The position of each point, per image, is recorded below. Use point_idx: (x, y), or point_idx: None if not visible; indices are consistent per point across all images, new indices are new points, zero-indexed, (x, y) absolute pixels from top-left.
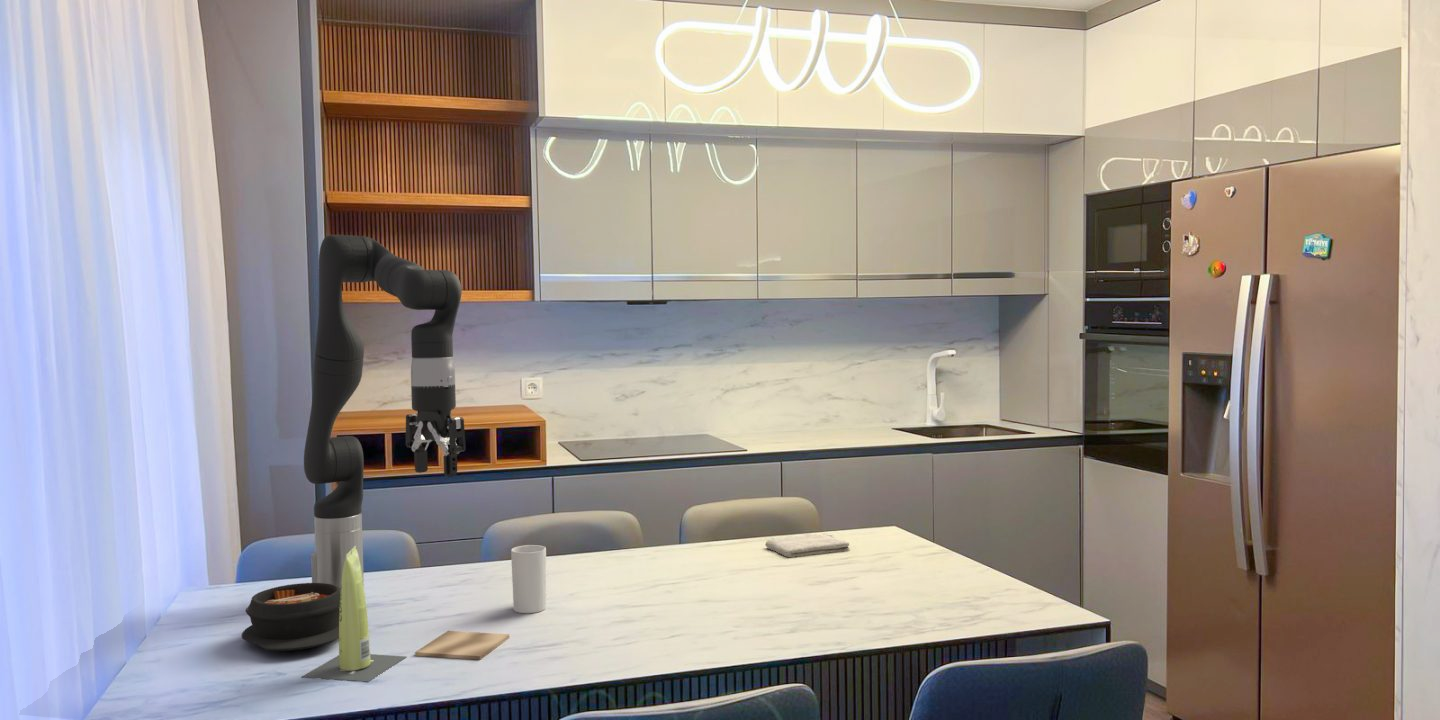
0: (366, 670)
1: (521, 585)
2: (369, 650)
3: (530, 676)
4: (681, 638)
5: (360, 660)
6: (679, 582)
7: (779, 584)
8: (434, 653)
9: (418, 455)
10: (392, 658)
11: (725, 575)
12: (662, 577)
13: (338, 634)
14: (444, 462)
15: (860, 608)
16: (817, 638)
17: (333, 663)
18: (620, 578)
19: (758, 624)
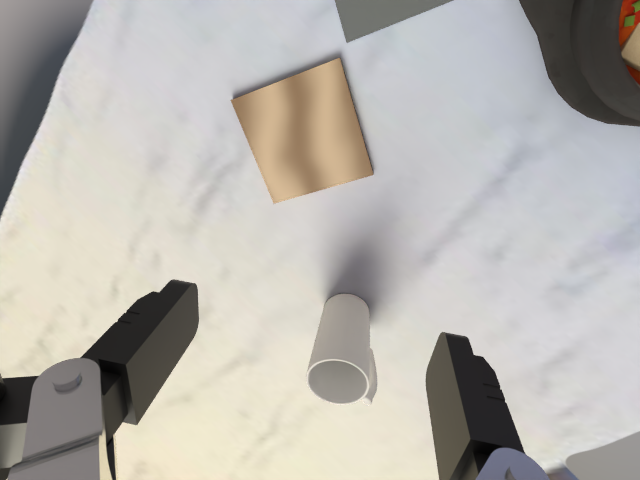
0: None
1: (336, 319)
2: None
3: (118, 80)
4: (101, 286)
5: None
6: (259, 442)
7: (166, 457)
8: (304, 71)
9: (460, 424)
10: (361, 18)
11: (234, 470)
12: (289, 452)
13: (530, 15)
14: (145, 330)
15: None
16: (7, 334)
17: None
18: (332, 440)
19: (81, 351)
